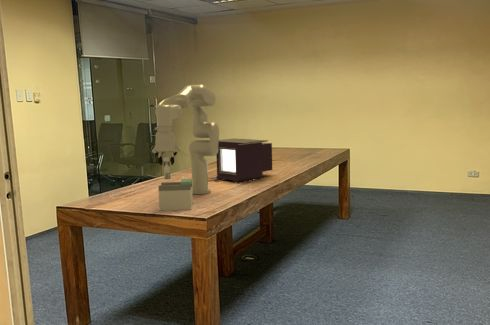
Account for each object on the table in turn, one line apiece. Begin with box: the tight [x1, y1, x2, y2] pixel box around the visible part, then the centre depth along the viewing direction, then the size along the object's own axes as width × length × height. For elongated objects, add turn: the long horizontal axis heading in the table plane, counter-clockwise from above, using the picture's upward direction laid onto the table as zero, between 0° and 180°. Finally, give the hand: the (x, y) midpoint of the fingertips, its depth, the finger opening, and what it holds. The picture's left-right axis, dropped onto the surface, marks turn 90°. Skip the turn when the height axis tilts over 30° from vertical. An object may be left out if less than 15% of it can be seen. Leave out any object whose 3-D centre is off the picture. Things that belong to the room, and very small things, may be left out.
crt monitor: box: [215, 138, 273, 184], centre depth 322 cm, size 35×35×27 cm
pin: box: [162, 156, 171, 180], centre depth 235 cm, size 5×5×11 cm
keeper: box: [179, 178, 192, 185], centre depth 237 cm, size 9×5×2 cm, turn 2°
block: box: [157, 181, 194, 211], centre depth 238 cm, size 12×16×12 cm
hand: (166, 164), depth 235 cm, fingers closed on pin, 5 cm apart
